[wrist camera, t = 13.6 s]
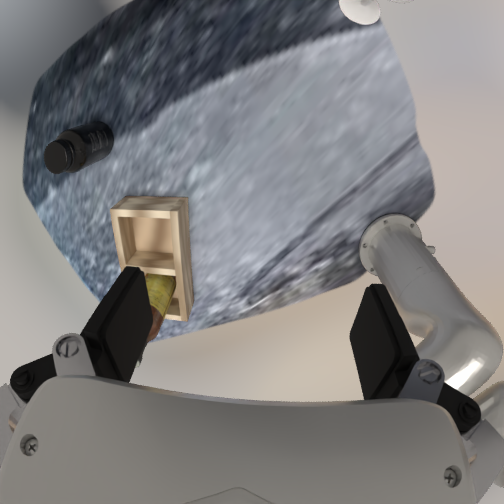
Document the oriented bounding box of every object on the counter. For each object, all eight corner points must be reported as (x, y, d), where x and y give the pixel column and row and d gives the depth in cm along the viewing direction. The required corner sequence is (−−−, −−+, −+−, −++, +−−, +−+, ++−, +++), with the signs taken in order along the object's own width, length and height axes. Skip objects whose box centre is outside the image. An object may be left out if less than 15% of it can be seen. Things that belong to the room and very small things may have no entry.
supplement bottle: (87, 117, 39) (42, 128, 28) (118, 126, 40) (77, 139, 29) (79, 153, 42) (36, 173, 32) (109, 164, 43) (69, 187, 33)
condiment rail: (187, 197, 46) (177, 211, 40) (194, 300, 57) (187, 321, 51) (125, 196, 46) (109, 209, 41) (141, 295, 57) (131, 313, 52)
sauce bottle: (146, 261, 51) (100, 338, 34) (177, 265, 51) (141, 347, 34) (150, 289, 54) (112, 366, 37) (179, 293, 54) (149, 375, 37)
